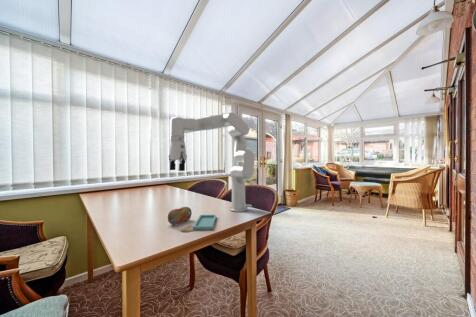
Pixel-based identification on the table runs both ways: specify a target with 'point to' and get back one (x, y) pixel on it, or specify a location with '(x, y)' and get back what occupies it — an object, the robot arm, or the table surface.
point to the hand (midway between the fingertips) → (177, 170)
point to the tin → (179, 215)
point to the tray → (205, 222)
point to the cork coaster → (186, 229)
